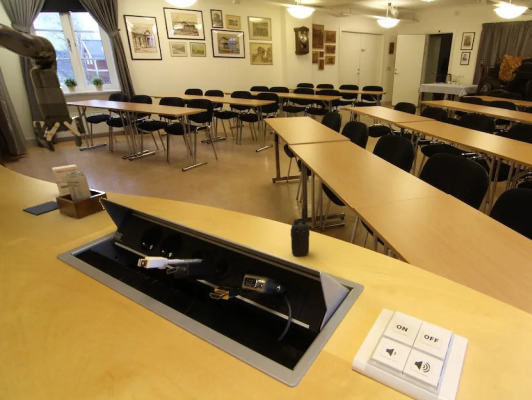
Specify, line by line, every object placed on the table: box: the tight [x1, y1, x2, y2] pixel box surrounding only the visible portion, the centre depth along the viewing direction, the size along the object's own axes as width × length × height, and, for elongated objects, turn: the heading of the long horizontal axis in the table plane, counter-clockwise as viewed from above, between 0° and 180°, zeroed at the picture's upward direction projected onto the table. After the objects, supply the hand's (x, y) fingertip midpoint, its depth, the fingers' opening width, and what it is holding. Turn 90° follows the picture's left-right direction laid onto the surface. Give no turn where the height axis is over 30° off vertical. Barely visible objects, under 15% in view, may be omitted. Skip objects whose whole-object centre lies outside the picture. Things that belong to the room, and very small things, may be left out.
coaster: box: [22, 200, 59, 216], centre depth 125 cm, size 10×10×1 cm
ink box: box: [51, 164, 80, 196], centre depth 140 cm, size 8×5×12 cm, turn 134°
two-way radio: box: [290, 206, 310, 257], centre depth 92 cm, size 6×4×15 cm
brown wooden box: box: [55, 188, 108, 220], centre depth 123 cm, size 12×12×6 cm
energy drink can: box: [66, 170, 91, 202], centre depth 121 cm, size 6×6×15 cm
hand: (66, 148), depth 114 cm, fingers open, 8 cm apart
